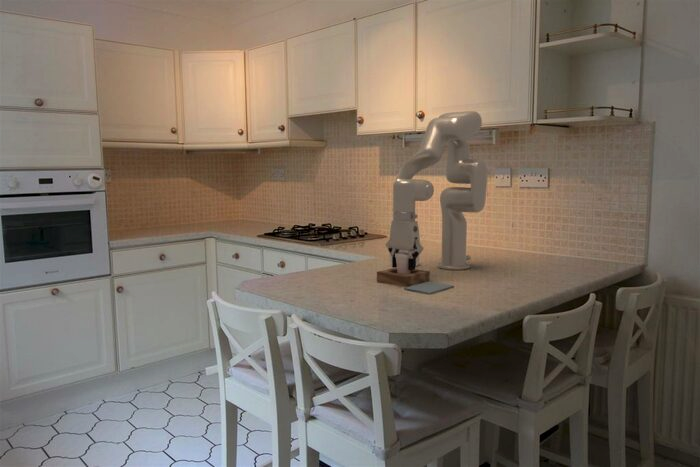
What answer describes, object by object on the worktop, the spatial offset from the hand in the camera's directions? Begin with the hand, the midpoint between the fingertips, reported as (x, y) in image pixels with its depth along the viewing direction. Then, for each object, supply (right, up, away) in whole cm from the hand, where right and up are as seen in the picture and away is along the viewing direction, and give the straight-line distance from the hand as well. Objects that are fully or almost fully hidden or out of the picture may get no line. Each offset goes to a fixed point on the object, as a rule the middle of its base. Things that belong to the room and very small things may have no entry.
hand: (403, 267), depth 186 cm
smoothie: (0, -5, +1) cm, 5 cm away
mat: (+7, -6, -11) cm, 14 cm away
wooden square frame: (0, -5, 0) cm, 5 cm away
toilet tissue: (+4, -1, +32) cm, 32 cm away
